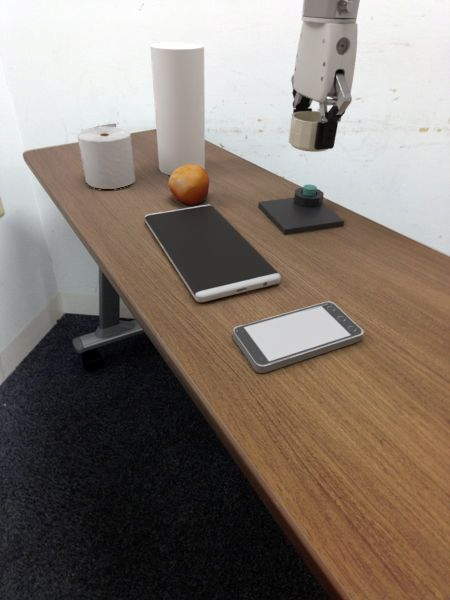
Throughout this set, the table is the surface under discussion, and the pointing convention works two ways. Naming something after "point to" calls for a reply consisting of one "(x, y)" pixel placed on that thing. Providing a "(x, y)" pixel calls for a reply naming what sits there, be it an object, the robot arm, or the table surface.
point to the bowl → (304, 130)
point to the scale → (300, 213)
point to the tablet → (210, 253)
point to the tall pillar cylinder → (179, 104)
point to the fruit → (189, 184)
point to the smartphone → (296, 336)
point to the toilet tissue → (107, 156)
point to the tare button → (309, 190)
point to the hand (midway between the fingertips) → (311, 140)
